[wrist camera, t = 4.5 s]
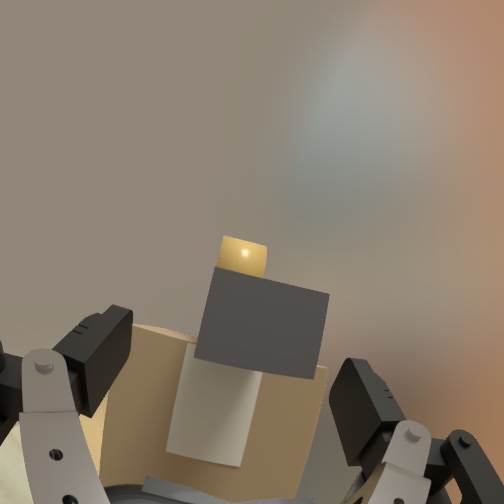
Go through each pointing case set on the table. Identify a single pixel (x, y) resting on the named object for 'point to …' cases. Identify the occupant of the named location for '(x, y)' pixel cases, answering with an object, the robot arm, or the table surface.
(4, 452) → the table surface
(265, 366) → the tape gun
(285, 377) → the cardboard box
